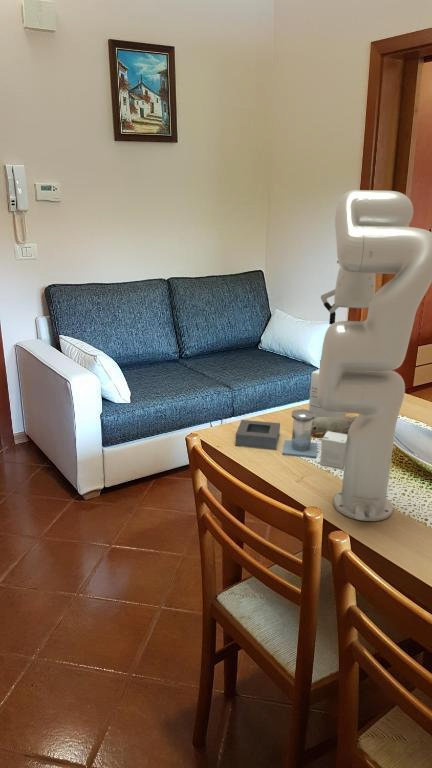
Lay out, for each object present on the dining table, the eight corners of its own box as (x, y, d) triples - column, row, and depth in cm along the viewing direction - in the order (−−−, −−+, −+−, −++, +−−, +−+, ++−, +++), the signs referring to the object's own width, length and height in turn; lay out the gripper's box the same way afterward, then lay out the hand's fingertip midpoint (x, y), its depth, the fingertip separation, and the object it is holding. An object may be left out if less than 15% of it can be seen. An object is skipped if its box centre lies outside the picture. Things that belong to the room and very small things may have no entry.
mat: (316, 458, 148) (316, 456, 147) (282, 454, 149) (282, 452, 149) (317, 444, 156) (317, 442, 156) (284, 441, 158) (284, 439, 157)
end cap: (311, 453, 149) (314, 417, 146) (289, 451, 150) (291, 415, 147) (312, 444, 155) (314, 410, 152) (290, 442, 156) (292, 408, 153)
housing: (276, 449, 152) (276, 437, 151) (235, 445, 154) (235, 434, 153) (279, 434, 163) (280, 423, 162) (241, 430, 165) (241, 419, 164)
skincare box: (348, 460, 147) (350, 434, 145) (342, 469, 142) (345, 442, 139) (325, 456, 149) (327, 430, 147) (319, 464, 144) (321, 438, 142)
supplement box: (319, 409, 184) (323, 365, 179) (345, 416, 179) (349, 370, 174) (307, 417, 177) (310, 371, 172) (333, 424, 172) (337, 377, 167)
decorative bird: (309, 432, 165) (311, 408, 163) (365, 437, 162) (368, 413, 160) (308, 439, 160) (310, 414, 158) (366, 444, 157) (369, 419, 155)
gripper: (323, 263, 143) (318, 329, 148) (393, 266, 140) (385, 333, 145) (323, 260, 150) (318, 323, 155) (390, 263, 147) (383, 327, 152)
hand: (351, 328), depth 150 cm, fingers open, 9 cm apart
